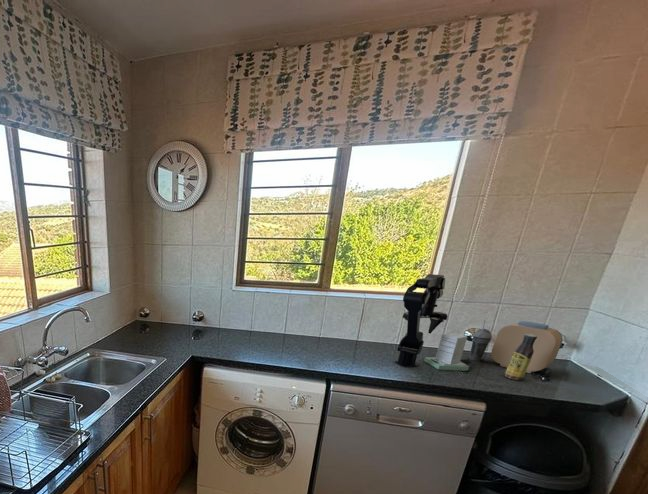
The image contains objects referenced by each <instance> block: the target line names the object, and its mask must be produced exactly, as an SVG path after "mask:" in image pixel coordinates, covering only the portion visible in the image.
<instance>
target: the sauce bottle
mask: <svg viewBox="0 0 648 494" xmlns="http://www.w3.org/2000/svg"><path fill="white" fill-rule="evenodd" d="M536 338H537V336H536V335H532V334H525V335H524V339H523V341H522V343H521V344H520V346H519V347H518V348H517V349H516V350H515V351H514V353H513V355H512V358H511V360H510V362H509V365H508V367H507V368H506V369H505V373H504V377H505V378H506V379H510V380H513V381H522V380H523V378H524V377H525V375H526V373H527V372H526V370H527V368H528V366H529V363H530V361H531V358H532V355H533V353H534V350H533V344H534V342H535V340H536Z"/></svg>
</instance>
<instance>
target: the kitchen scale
mask: <svg viewBox="0 0 648 494" xmlns="http://www.w3.org/2000/svg"><path fill="white" fill-rule="evenodd" d="M435 358H436V356H432V357H430V356H429V357H425V358H424V362H425V363H426V364H428V365H430V366H432V367H433V368H435V369H436V370H440V371H462V372H463V371H465V372H466V371H467V372H468V371H469V370H470V366H469V365H467V364H466V363H464V362H463V361H460V362H457V363H452V364H448V363H445V362H442V361H439V360H436V359H435Z"/></svg>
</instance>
